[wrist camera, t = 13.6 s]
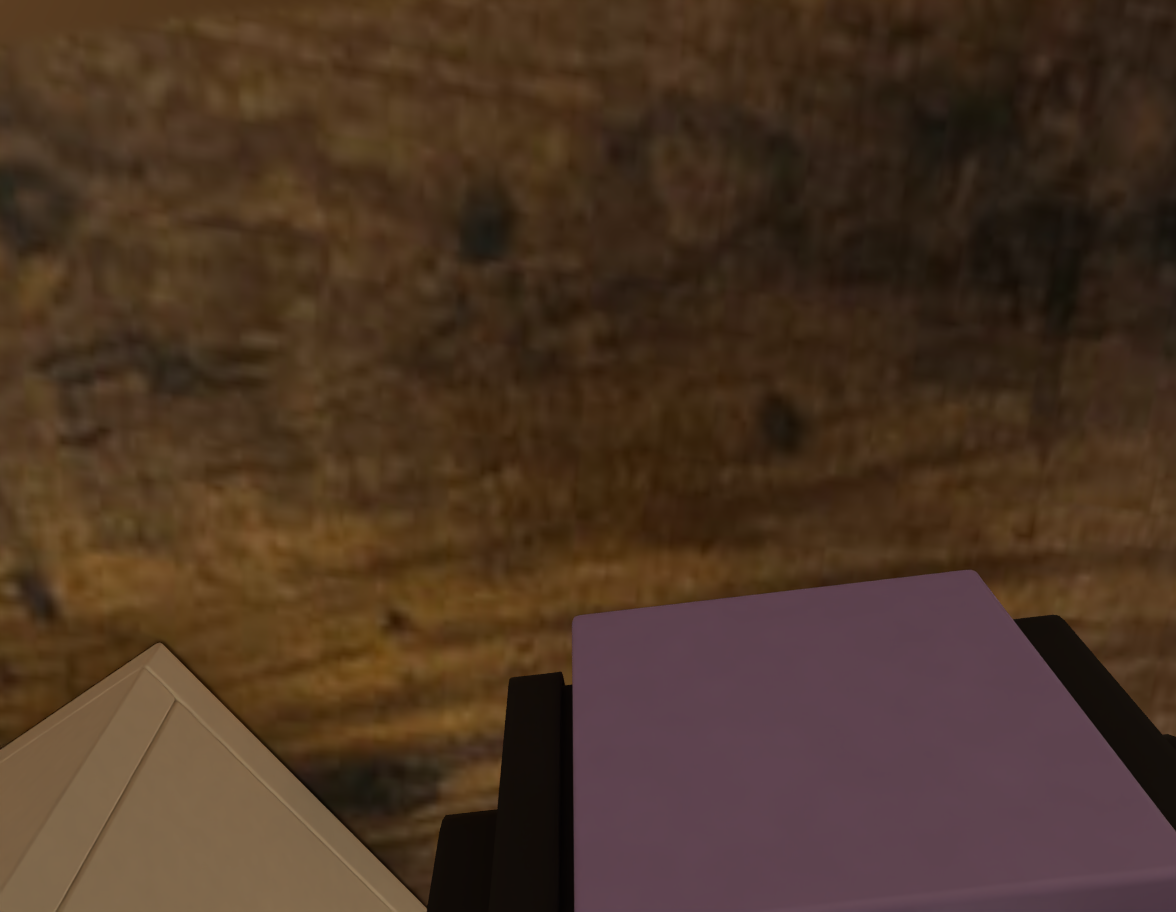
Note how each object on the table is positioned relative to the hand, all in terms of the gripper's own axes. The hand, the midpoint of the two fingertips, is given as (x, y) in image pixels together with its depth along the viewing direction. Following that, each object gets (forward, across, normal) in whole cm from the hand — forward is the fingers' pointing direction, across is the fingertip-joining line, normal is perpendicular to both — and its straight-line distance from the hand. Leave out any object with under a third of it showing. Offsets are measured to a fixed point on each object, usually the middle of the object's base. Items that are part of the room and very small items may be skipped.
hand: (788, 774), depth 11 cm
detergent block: (0, 0, 0) cm, 0 cm away
